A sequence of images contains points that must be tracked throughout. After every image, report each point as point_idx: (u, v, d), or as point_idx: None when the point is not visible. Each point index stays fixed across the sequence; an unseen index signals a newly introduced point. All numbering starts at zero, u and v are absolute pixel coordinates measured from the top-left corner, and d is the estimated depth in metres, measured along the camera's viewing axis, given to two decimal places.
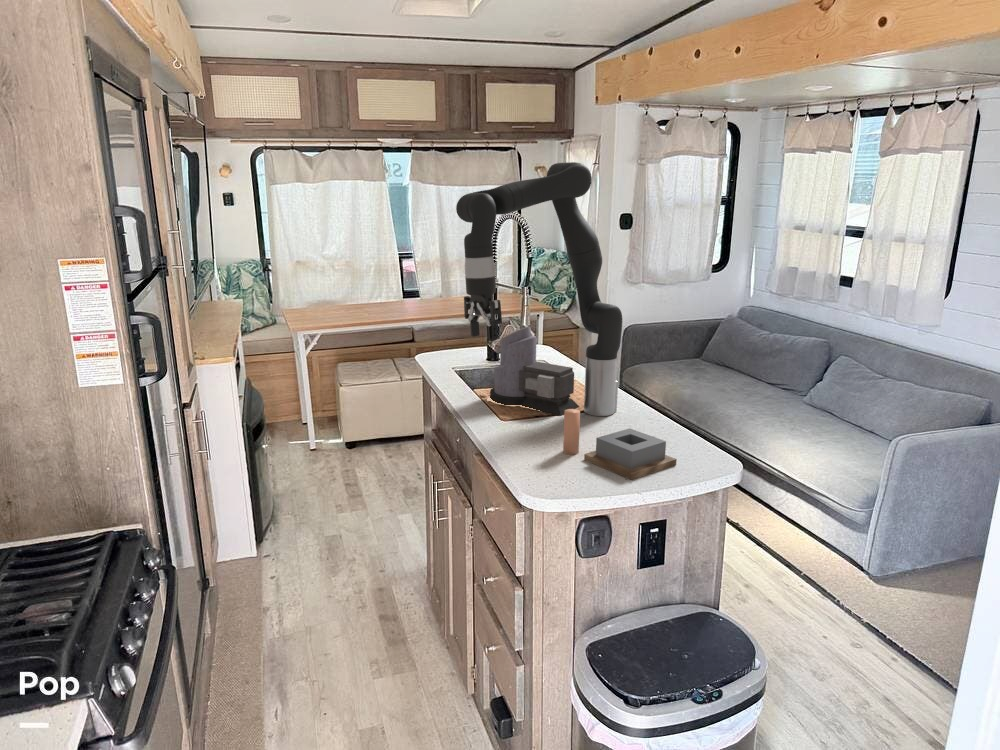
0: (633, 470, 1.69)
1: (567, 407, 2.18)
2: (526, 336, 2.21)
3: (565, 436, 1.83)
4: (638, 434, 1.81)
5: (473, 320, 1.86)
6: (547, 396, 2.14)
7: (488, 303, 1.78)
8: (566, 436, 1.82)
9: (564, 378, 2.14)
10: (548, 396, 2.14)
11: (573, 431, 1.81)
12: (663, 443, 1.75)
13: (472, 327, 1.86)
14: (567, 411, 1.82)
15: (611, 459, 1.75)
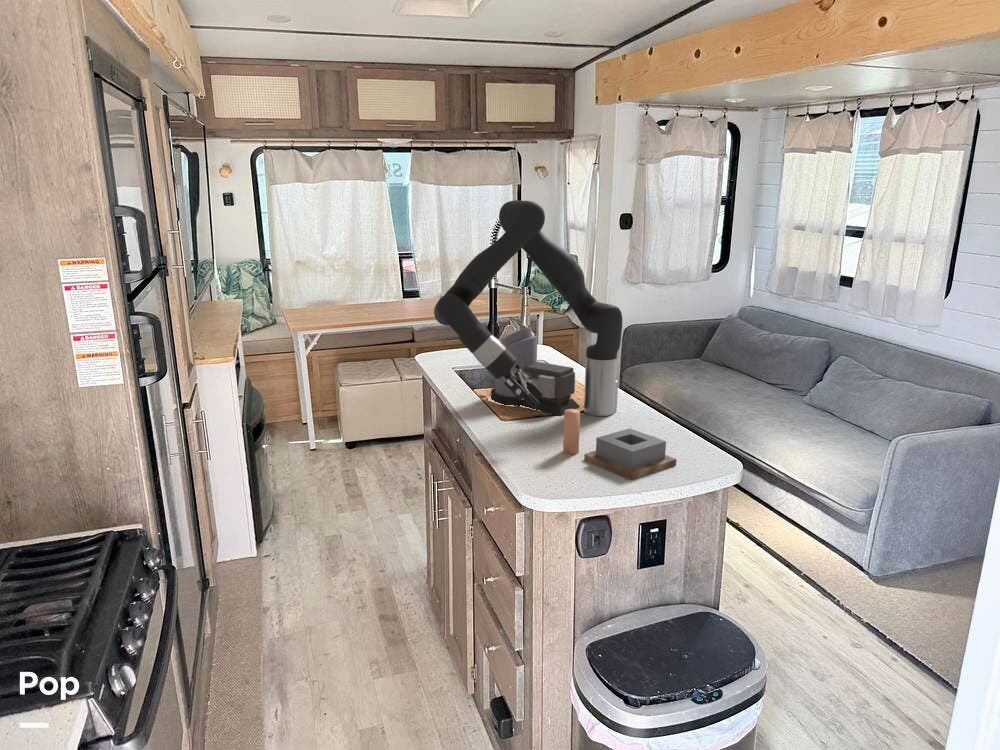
0: (633, 470, 1.69)
1: (568, 407, 2.18)
2: (527, 336, 2.21)
3: (565, 436, 1.83)
4: (638, 434, 1.81)
5: (528, 386, 1.86)
6: (548, 397, 2.14)
7: None
8: (566, 436, 1.82)
9: (565, 378, 2.14)
10: (548, 396, 2.14)
11: (573, 431, 1.81)
12: (663, 443, 1.75)
13: (531, 393, 1.87)
14: (567, 411, 1.82)
15: (611, 459, 1.75)
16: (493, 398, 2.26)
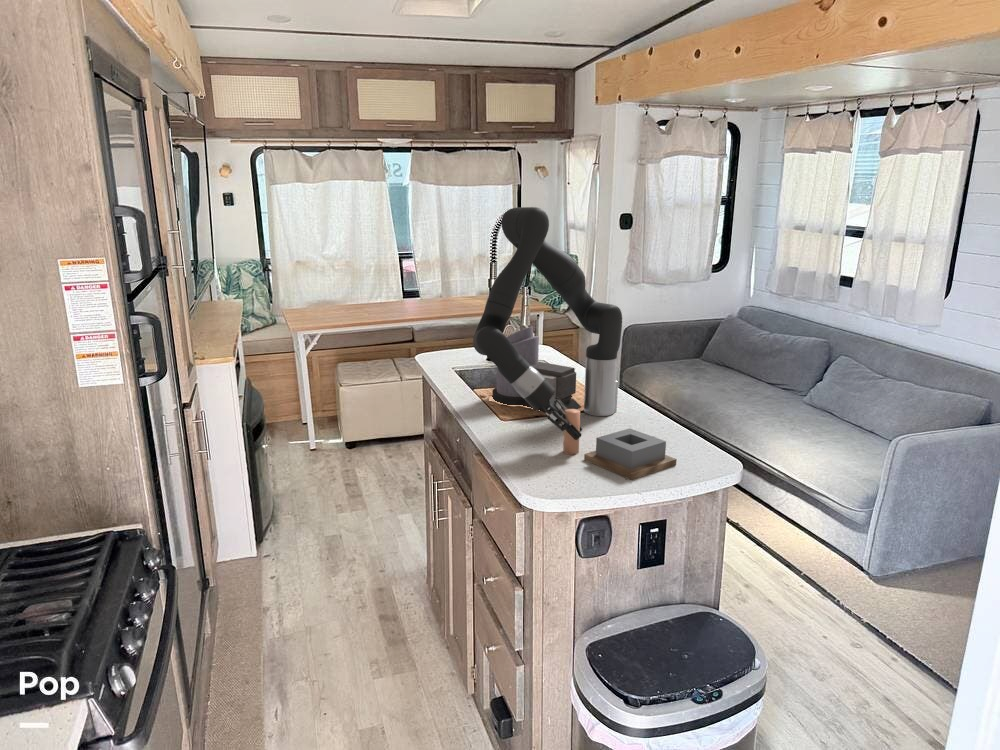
0: (633, 470, 1.69)
1: (569, 407, 2.18)
2: (528, 336, 2.21)
3: (565, 436, 1.83)
4: (638, 434, 1.81)
5: None
6: None
7: None
8: (566, 436, 1.82)
9: (566, 378, 2.14)
10: None
11: None
12: (663, 443, 1.75)
13: None
14: (567, 411, 1.82)
15: (611, 459, 1.75)
16: (494, 398, 2.26)
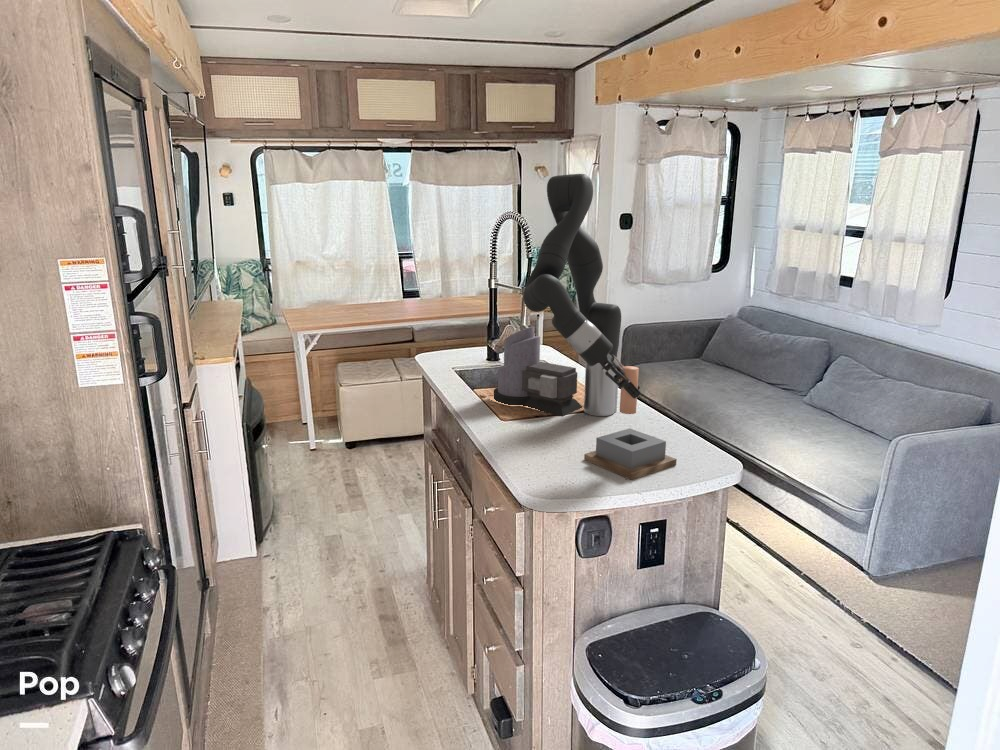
0: (633, 470, 1.69)
1: (570, 407, 2.18)
2: (529, 336, 2.21)
3: (622, 394, 1.73)
4: (638, 434, 1.81)
5: None
6: (550, 397, 2.14)
7: (607, 369, 1.69)
8: (623, 395, 1.73)
9: (567, 378, 2.14)
10: (550, 396, 2.14)
11: None
12: (663, 443, 1.75)
13: None
14: (625, 368, 1.72)
15: (611, 459, 1.75)
16: (496, 398, 2.26)
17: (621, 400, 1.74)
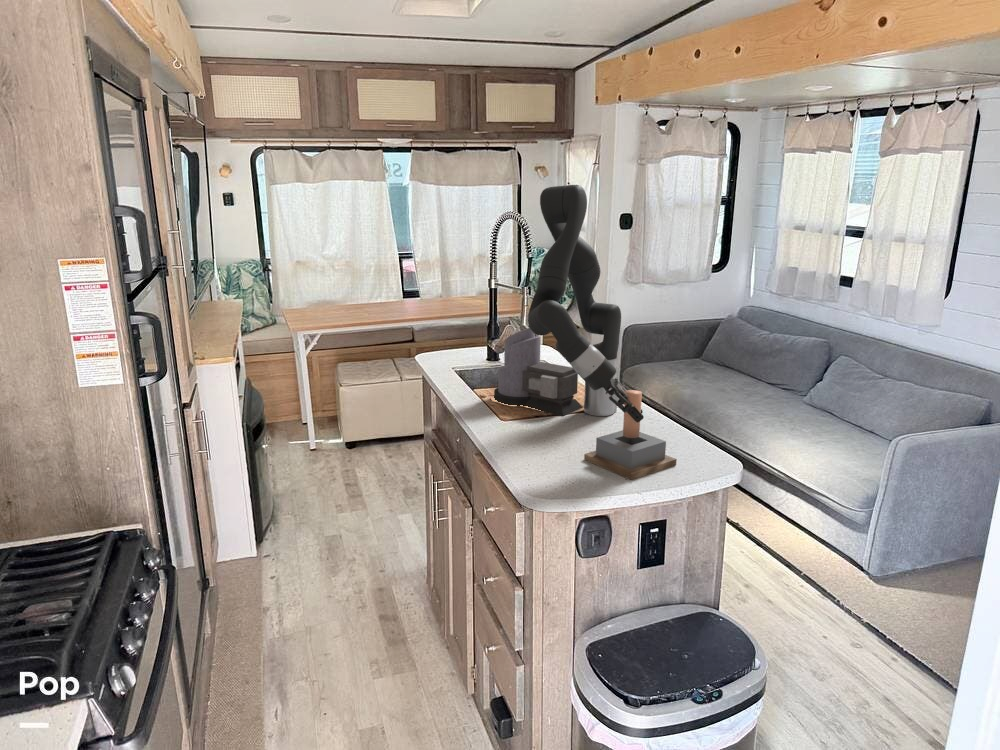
0: (633, 470, 1.69)
1: (570, 408, 2.18)
2: (530, 336, 2.21)
3: (626, 418, 1.74)
4: None
5: None
6: (550, 397, 2.14)
7: (610, 394, 1.70)
8: (627, 419, 1.74)
9: (567, 378, 2.14)
10: (551, 396, 2.14)
11: None
12: (663, 443, 1.75)
13: None
14: (628, 392, 1.73)
15: (611, 459, 1.75)
16: (496, 398, 2.26)
17: (624, 424, 1.75)
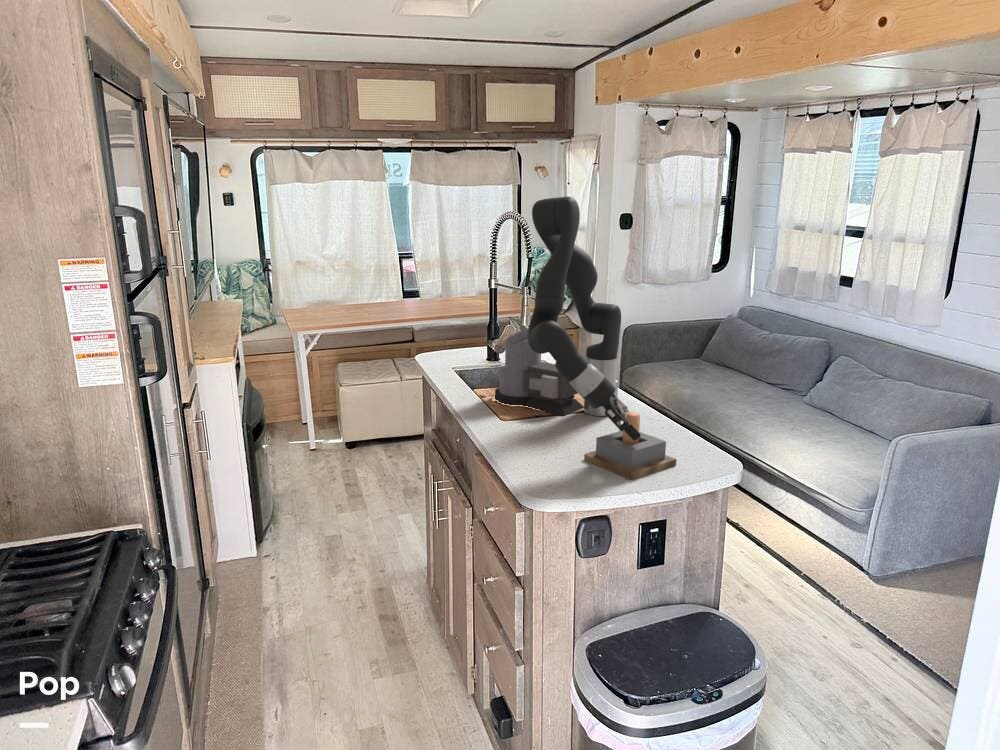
0: (633, 470, 1.69)
1: (571, 407, 2.18)
2: None
3: (624, 440, 1.76)
4: None
5: None
6: (551, 397, 2.14)
7: None
8: (625, 440, 1.75)
9: None
10: (551, 396, 2.14)
11: None
12: (663, 443, 1.75)
13: None
14: (627, 414, 1.75)
15: (611, 459, 1.75)
16: (497, 398, 2.26)
17: None
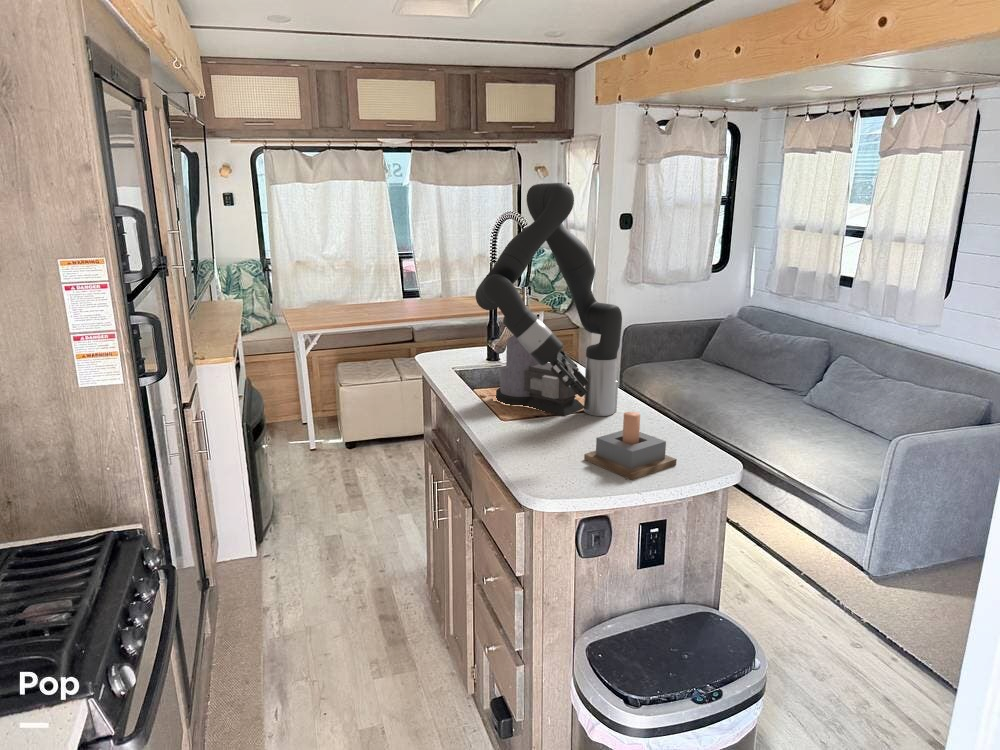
0: (633, 470, 1.69)
1: (572, 408, 2.18)
2: None
3: (624, 440, 1.76)
4: None
5: (573, 373, 1.79)
6: (552, 397, 2.14)
7: None
8: (626, 440, 1.75)
9: None
10: (552, 396, 2.14)
11: (633, 435, 1.74)
12: (663, 443, 1.75)
13: None
14: (627, 414, 1.75)
15: (611, 459, 1.75)
16: (498, 398, 2.26)
17: None
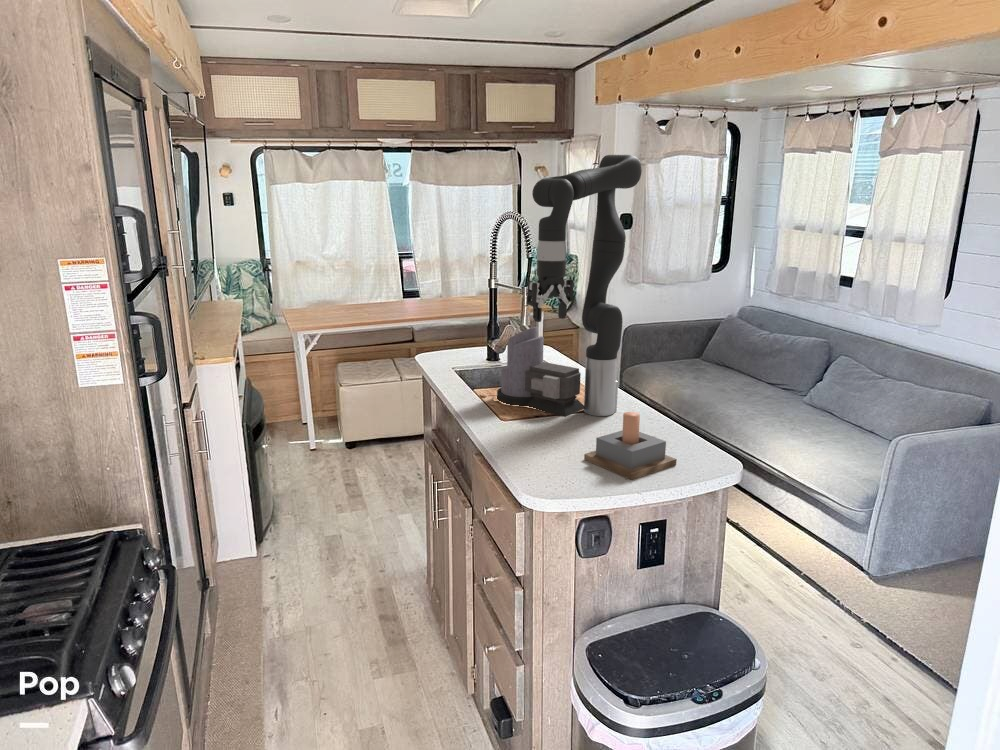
0: (633, 470, 1.69)
1: (573, 408, 2.17)
2: (533, 336, 2.21)
3: (624, 440, 1.75)
4: None
5: (561, 302, 1.91)
6: (552, 397, 2.14)
7: None
8: (625, 440, 1.75)
9: (570, 379, 2.14)
10: (553, 396, 2.14)
11: (633, 435, 1.74)
12: (663, 443, 1.75)
13: (559, 308, 1.92)
14: (626, 414, 1.75)
15: (611, 459, 1.75)
16: (499, 398, 2.26)
17: None
